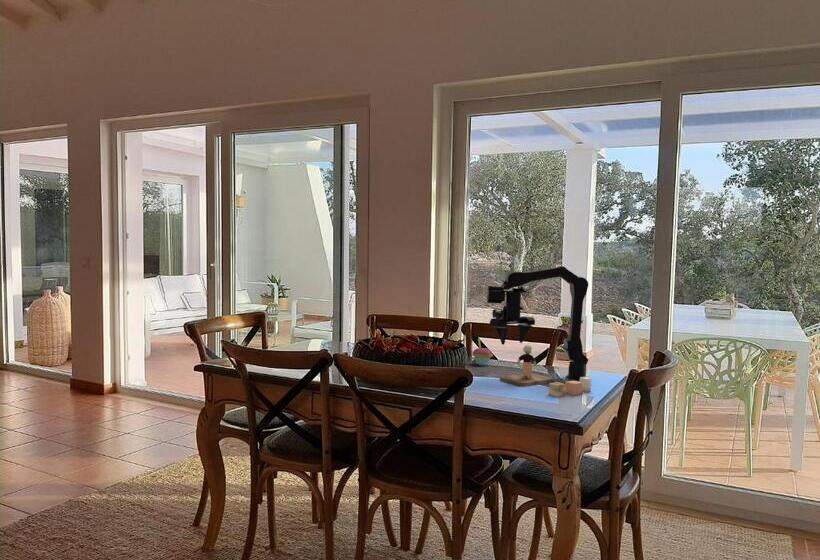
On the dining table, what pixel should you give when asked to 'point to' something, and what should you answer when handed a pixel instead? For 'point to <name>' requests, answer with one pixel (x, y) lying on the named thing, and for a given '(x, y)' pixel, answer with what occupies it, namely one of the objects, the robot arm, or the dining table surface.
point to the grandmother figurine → (527, 362)
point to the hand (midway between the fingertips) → (511, 343)
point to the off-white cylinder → (586, 384)
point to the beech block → (557, 389)
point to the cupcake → (482, 355)
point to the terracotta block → (573, 387)
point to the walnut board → (526, 380)
